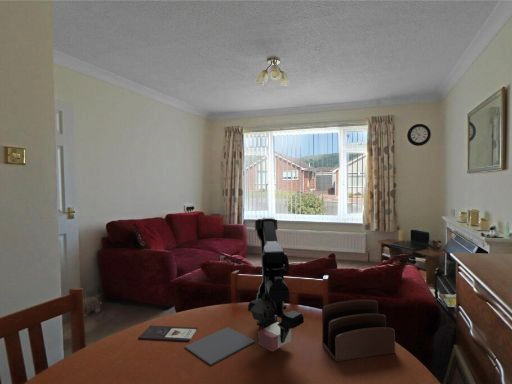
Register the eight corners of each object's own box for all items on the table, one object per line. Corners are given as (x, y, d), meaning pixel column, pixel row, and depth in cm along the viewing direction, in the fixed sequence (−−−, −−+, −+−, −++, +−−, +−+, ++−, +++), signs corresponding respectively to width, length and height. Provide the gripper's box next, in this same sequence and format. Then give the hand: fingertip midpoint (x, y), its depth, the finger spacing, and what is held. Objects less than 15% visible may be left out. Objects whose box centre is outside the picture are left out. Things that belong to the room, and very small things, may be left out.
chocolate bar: (150, 325, 114) (197, 327, 112) (150, 327, 114) (197, 330, 112) (138, 337, 105) (188, 340, 103) (138, 340, 105) (189, 343, 103)
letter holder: (321, 345, 100) (321, 302, 99) (376, 338, 104) (376, 296, 103) (335, 362, 90) (335, 315, 90) (395, 354, 94) (395, 308, 94)
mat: (228, 328, 112) (227, 327, 112) (255, 342, 102) (254, 340, 102) (184, 347, 99) (184, 346, 99) (210, 365, 89) (210, 364, 89)
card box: (277, 333, 102) (277, 321, 102) (291, 340, 98) (291, 327, 98) (258, 344, 96) (257, 331, 95) (272, 351, 91) (272, 338, 91)
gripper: (235, 289, 97) (236, 338, 98) (280, 305, 84) (280, 361, 84) (259, 281, 105) (260, 326, 105) (304, 294, 92) (305, 346, 92)
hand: (274, 338), depth 97 cm, fingers closed on card box, 6 cm apart
